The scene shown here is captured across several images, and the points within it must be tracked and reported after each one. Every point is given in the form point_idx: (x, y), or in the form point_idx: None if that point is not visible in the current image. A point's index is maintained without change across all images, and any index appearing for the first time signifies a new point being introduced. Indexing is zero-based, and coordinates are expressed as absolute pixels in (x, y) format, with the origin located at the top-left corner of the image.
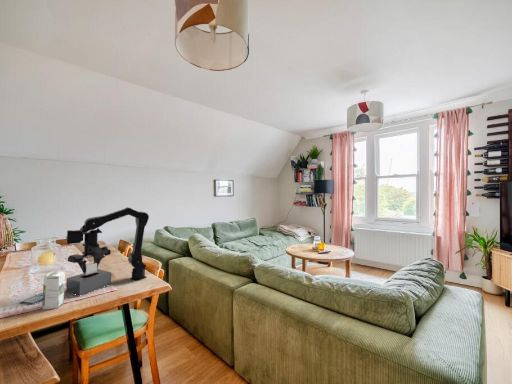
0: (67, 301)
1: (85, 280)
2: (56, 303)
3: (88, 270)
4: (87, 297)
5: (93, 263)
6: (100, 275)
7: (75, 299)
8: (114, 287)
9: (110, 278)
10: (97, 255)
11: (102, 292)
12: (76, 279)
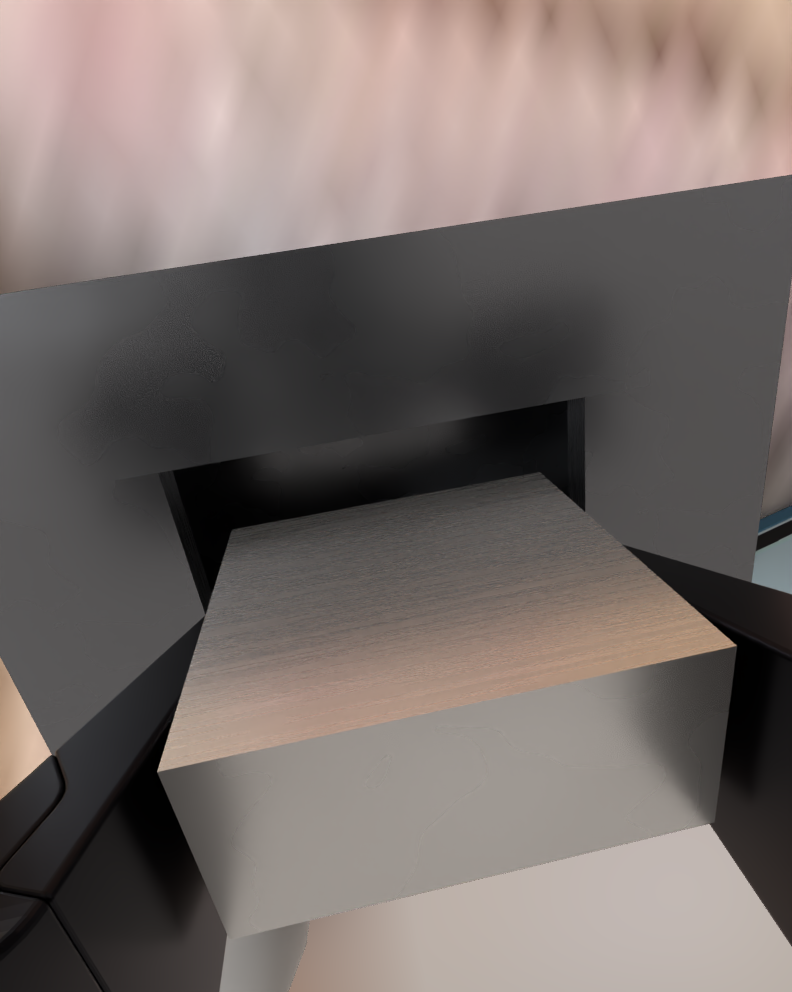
0: (788, 156)
1: (661, 195)
2: None
3: (521, 537)
4: (567, 26)
5: (342, 778)
6: (213, 280)
7: (699, 129)
8: (13, 87)
9: None
10: None
11: (296, 23)
12: (715, 453)
